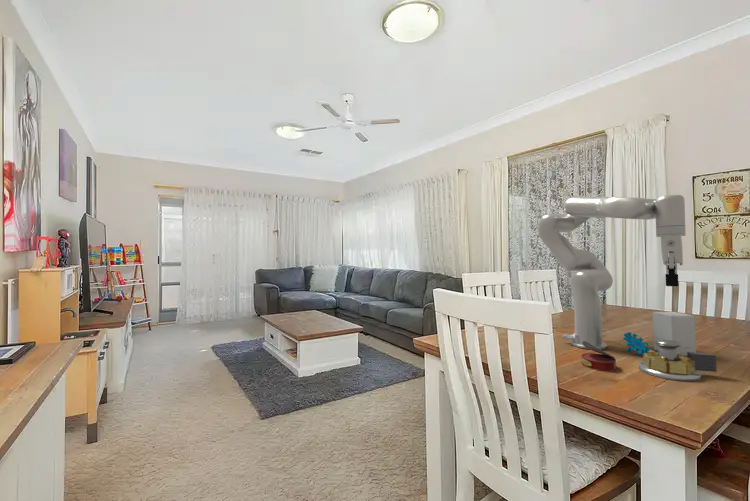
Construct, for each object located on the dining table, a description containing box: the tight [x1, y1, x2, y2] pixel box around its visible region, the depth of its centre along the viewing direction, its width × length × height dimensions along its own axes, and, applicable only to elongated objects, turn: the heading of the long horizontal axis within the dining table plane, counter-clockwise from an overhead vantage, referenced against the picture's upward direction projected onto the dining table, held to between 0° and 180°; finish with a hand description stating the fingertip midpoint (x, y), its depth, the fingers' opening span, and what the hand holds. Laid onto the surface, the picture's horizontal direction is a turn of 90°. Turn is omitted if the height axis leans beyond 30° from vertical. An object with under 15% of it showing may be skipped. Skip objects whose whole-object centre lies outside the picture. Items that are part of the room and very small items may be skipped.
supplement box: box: [652, 311, 697, 357], centre depth 128 cm, size 9×9×15 cm
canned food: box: [581, 341, 617, 372], centre depth 116 cm, size 11×10×10 cm
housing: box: [638, 340, 702, 382], centre depth 108 cm, size 15×15×10 cm
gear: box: [622, 331, 652, 356], centre depth 129 cm, size 11×6×10 cm
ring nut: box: [642, 349, 717, 374], centre depth 107 cm, size 17×12×5 cm
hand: (672, 285), depth 114 cm, fingers closed
